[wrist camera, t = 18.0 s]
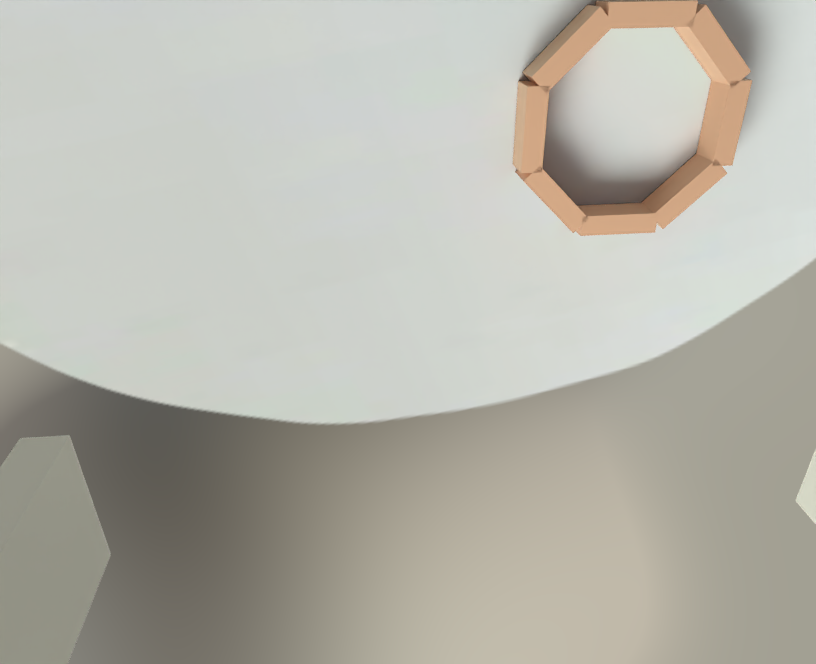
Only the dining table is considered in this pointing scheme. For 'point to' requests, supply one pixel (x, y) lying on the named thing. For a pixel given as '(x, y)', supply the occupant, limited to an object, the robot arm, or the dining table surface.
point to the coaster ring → (678, 7)
